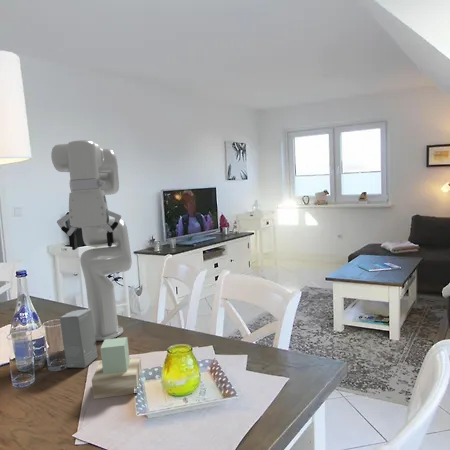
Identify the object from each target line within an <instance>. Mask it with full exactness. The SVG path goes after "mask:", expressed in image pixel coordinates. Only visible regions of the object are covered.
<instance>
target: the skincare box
mask: <svg viewBox="0 0 450 450" xmlns="http://www.w3.org/2000/svg"><path fill="white" fill-rule="evenodd" d="M59 322H60V323H59V324H60V330H61V337H62V338H61V339H62V343H63V350H64V357H65V364H66V368H87V367H88V366H89V365H90V364H91V363H92V362H94V361H95V360H96V359H97V358H99V357H98V356H99V355H98V348H97V341H96V340H95V333H94V325H93V319H92V311H91V309H89V308H88V309H87V308H86V309H73V310H72V311H69V312H65V314H64V315H61V316H60V317H59Z"/></svg>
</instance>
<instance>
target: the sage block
mask: <svg viewBox="0 0 450 450" xmlns="http://www.w3.org/2000/svg"><path fill="white" fill-rule="evenodd" d="M129 349H130V348H129V340H128V336H126V337H125V336H124V337H117V338H116V337H115V338H112V339H105V340H103V342H102V344H101V346H100V356H101V361H102V367H103V374H110V373H118V372H127V370H128V366H129V363H130V358H131V357H130V353H129V352H130V351H129Z"/></svg>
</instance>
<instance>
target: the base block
mask: <svg viewBox="0 0 450 450" xmlns="http://www.w3.org/2000/svg"><path fill="white" fill-rule="evenodd" d="M129 358H130V363H129V366H128V370H127V372H118V373H110V374H103V367H102V360H101V361H99V363H98V365H97V368H96V369H95V371H94V374H93V376H92V378H91V385H92V386H91V387H92V394H93V399H94V400H95V399H96V400H97V399H103V398H111V397H118V396H119V397H120V396H127V395H134V394H133V393H134V387H136V388H137V387H138V382H139V378H140V372H141V370H142V362H141V361H142V360H141V357H140V356H139V357H138V356H136V357H129Z"/></svg>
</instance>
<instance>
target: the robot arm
mask: <svg viewBox="0 0 450 450" xmlns="http://www.w3.org/2000/svg"><path fill="white" fill-rule="evenodd" d="M50 154H51V156H50V157H51V162H52V165H53V167H54V169H55V170H56V171H57V172H59V173H69V178H70V179H69V188H70V192H69V194H68V196H69V197H68V213H67V214H66V215H64V216H63V217H61V218H59V219H58V220H57V221H56V223H57V225H58V226H59V228H60V229H61V231H62V232H63V233H64V234H66V235H67V236H68V241H69V247H70V248H71V249H72V251H75V250H77V249H78V239H77V235H76V234H75V233H76V231H77V230H78V229H81V233H82V235H81V236H82V240H83V243H84V245H85V246H87V247H90V248H91V247H92V248H91V249H87V250H84V251H83V252H82V253H81V254H80V259H79V262H80V267H81V271H82V273H83V278H84V282H85V283H84V284H85V289H86V297H87V298H86V299H87V307H88V309H91V311H92V319H93V325H94V333H95V340H96V342H99V341H101V342H102V341H104V340H105V339H114V338H116V337H117V338H118V337H119V336H121V335H122V334H123V333H124V328H123V327H122V326H120V325H119V322H118V312H117V304H116V303H117V302H116V293H115V286H114V284H113V281H111V279H110V278H108V277H107V276H106V275H110V274H116V273H117V274H118V273H124V272H127V271H129V270H131V269H132V268H131V267H132V264H133V263H132V253H131V248H130V247H131V246H130V237H129V233H128V232H129V231H128V226H127V224H126V222H125V221H124V220H123V219H122V215H121V214H119V213H116V212H114V211H112V210H109V208H108V207H109V206H108V203H107V202H108V201H107V197H106V196H108V195H109V196H110V195H115V194H117V193H118V191H119V190H120V189H119V188H120V181H119V180H120V179H119V169H118V168H119V166H118V159H117V156H116V153H115V152H114V151H113V150H112V149H111V148H110V149H109V148H102V147H101V146H100V145H99V144H98V143H96V142H94V141H92V140H83V139H82V140H81V139H80V140H74V141H73V140H72V141H69V142H68V143H60V144H55V145H54V146H53V147H52V150H51V152H50ZM110 217H112V218H110ZM68 220H69V225H70V228H69V227H68V226H67V225H66V224H65V222H67V221H68ZM93 247H95V248H93ZM96 247H97V248H96Z"/></svg>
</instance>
